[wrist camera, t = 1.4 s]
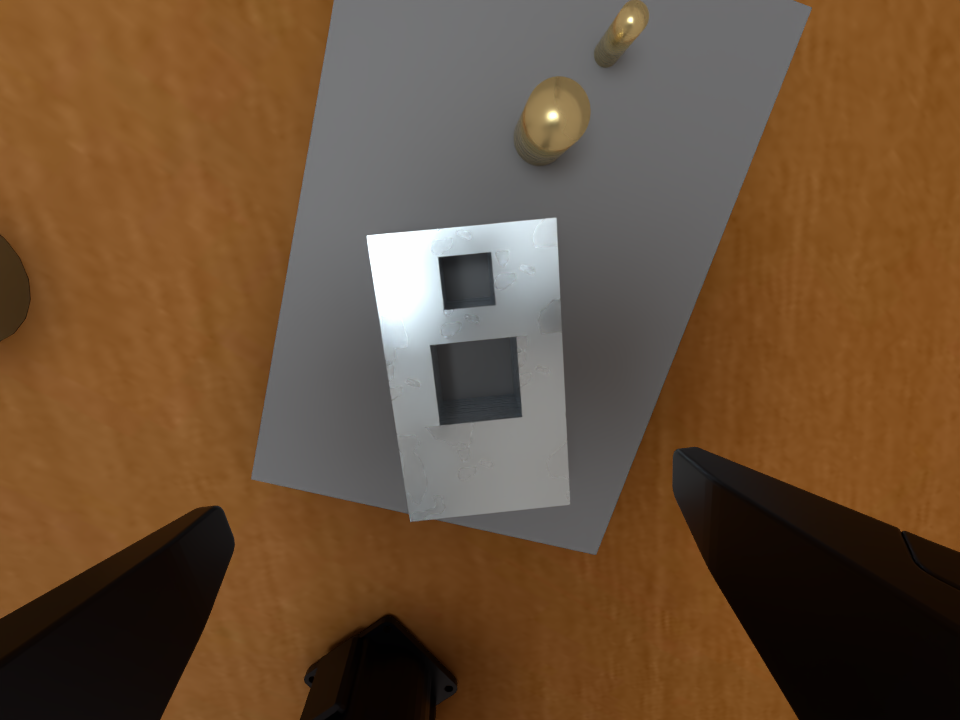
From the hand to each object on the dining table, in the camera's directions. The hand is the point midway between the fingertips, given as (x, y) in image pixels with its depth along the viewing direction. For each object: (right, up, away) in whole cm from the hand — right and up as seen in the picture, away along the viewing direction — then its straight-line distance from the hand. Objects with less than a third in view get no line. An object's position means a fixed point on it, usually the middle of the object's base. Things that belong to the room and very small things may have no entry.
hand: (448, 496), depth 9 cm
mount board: (+2, +7, +12) cm, 14 cm away
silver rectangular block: (0, +3, +12) cm, 12 cm away
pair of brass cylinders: (+4, +13, +9) cm, 17 cm away
